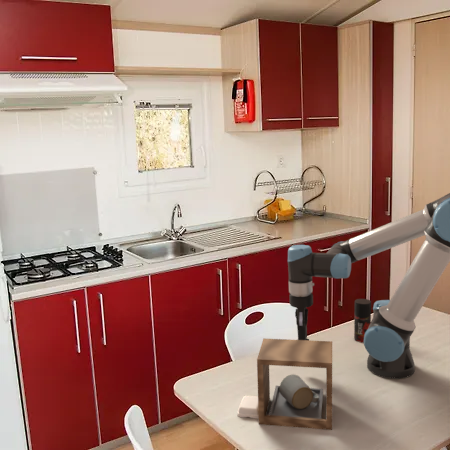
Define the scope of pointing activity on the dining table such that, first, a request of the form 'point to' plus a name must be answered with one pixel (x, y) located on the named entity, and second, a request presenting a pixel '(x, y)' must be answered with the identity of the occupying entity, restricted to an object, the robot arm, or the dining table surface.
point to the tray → (286, 409)
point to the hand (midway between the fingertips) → (303, 361)
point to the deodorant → (361, 318)
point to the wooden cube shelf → (300, 357)
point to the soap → (248, 407)
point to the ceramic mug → (297, 392)
